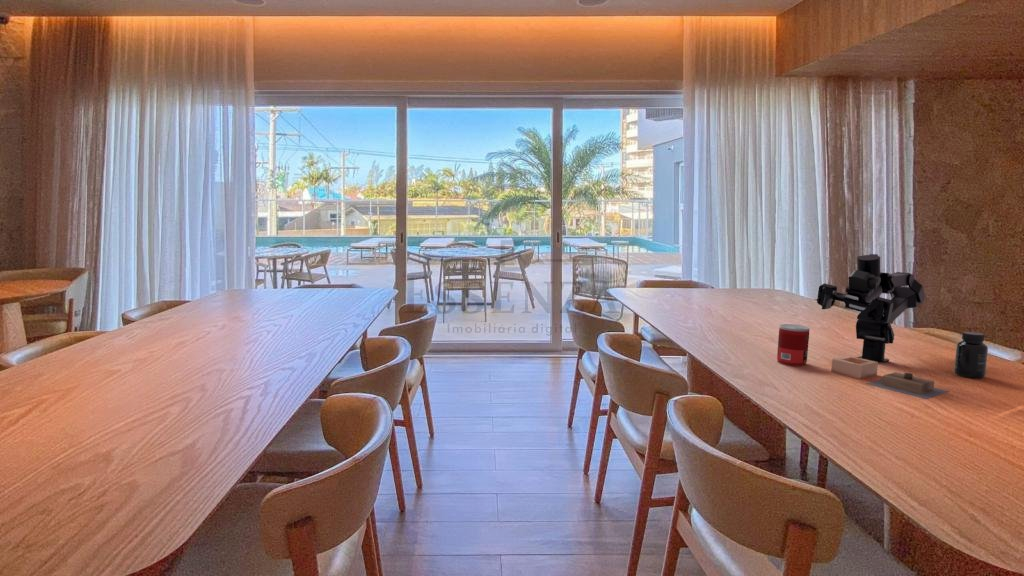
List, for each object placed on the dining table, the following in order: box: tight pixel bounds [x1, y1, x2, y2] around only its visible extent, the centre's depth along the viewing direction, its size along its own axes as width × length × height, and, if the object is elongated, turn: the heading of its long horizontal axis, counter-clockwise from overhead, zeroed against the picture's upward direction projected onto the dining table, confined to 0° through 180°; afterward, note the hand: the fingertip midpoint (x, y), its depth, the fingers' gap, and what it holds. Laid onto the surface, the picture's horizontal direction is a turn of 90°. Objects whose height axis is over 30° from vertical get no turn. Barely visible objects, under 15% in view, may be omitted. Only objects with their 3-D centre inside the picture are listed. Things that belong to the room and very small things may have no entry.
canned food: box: [776, 323, 810, 367], centre depth 170 cm, size 8×8×11 cm
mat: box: [865, 378, 951, 400], centre depth 147 cm, size 12×14×1 cm
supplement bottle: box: [953, 331, 989, 379], centre depth 159 cm, size 7×7×12 cm
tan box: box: [830, 355, 879, 380], centre depth 159 cm, size 8×8×4 cm
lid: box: [881, 371, 935, 394], centre depth 147 cm, size 6×9×4 cm
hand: (839, 312), depth 157 cm, fingers open, 9 cm apart
